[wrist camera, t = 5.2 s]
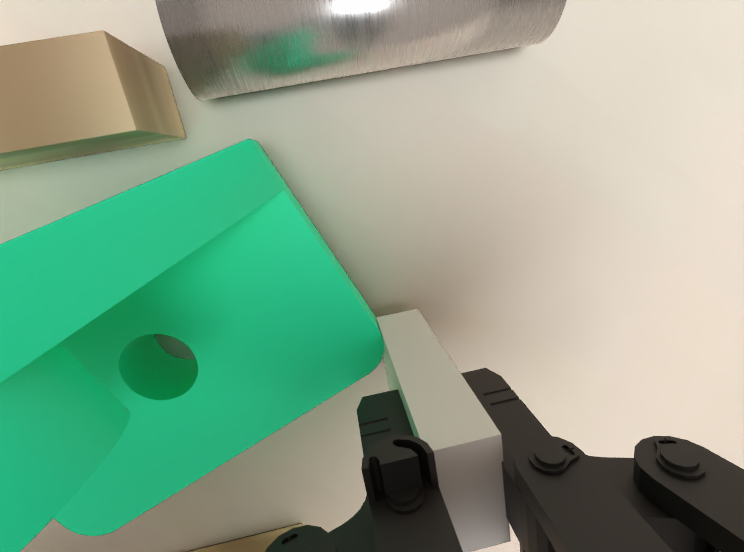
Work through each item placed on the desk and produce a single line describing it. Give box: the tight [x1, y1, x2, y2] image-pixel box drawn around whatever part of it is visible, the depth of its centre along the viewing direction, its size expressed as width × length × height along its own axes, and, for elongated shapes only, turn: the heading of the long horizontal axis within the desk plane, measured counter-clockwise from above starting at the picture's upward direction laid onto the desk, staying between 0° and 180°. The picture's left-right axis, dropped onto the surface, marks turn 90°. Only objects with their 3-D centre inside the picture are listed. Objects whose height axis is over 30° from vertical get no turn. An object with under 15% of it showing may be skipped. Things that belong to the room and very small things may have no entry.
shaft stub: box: [156, 0, 566, 100], centre depth 11 cm, size 10×3×3 cm, turn 100°
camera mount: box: [0, 139, 384, 552], centre depth 9 cm, size 12×8×10 cm, turn 122°
